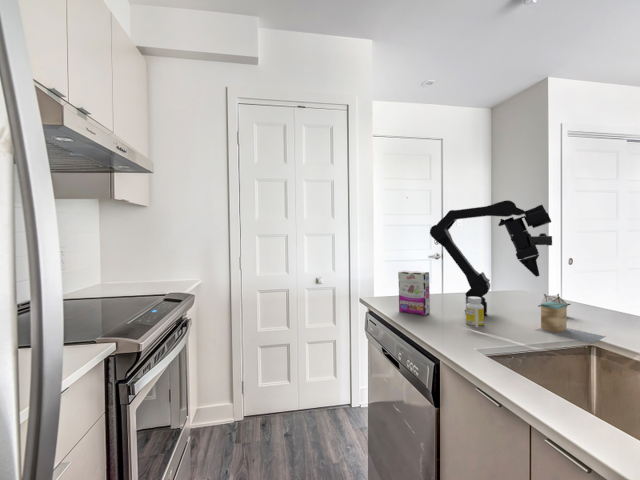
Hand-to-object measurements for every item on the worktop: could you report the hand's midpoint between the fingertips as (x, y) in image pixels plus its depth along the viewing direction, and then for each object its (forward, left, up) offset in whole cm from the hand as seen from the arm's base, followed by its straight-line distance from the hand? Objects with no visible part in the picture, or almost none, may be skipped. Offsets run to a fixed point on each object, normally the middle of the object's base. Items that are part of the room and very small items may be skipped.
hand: (537, 274), depth 107 cm
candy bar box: (-41, +7, -17) cm, 45 cm away
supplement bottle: (-23, -9, -17) cm, 30 cm away
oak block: (-1, -12, -16) cm, 20 cm away
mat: (+2, -14, -16) cm, 22 cm away
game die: (+9, +8, -17) cm, 20 cm away
